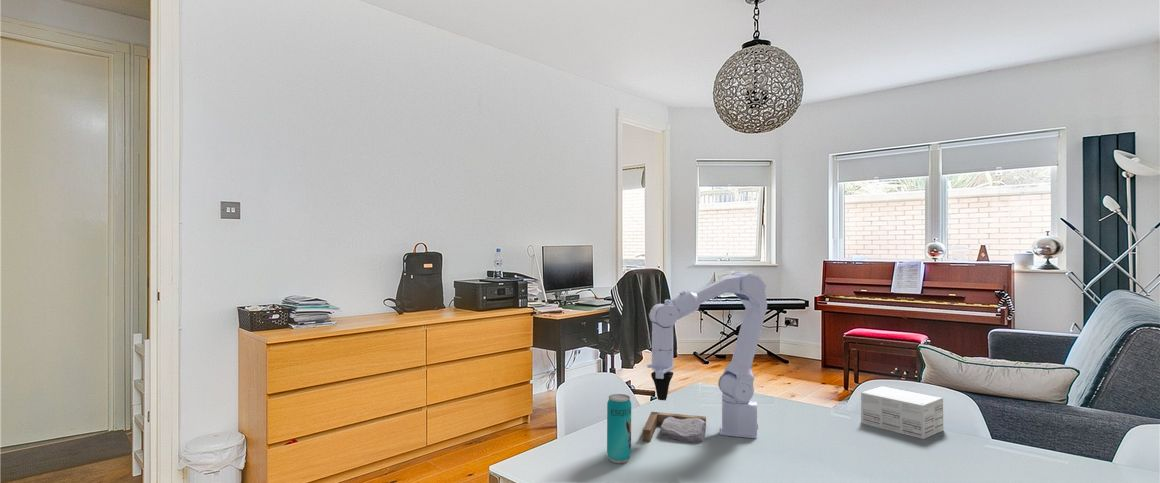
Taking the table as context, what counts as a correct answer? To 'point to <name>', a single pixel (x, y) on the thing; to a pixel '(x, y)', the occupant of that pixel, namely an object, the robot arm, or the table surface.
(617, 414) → the beverage can
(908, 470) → the table surface
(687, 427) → the stone block
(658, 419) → the dock
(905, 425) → the supplement box
